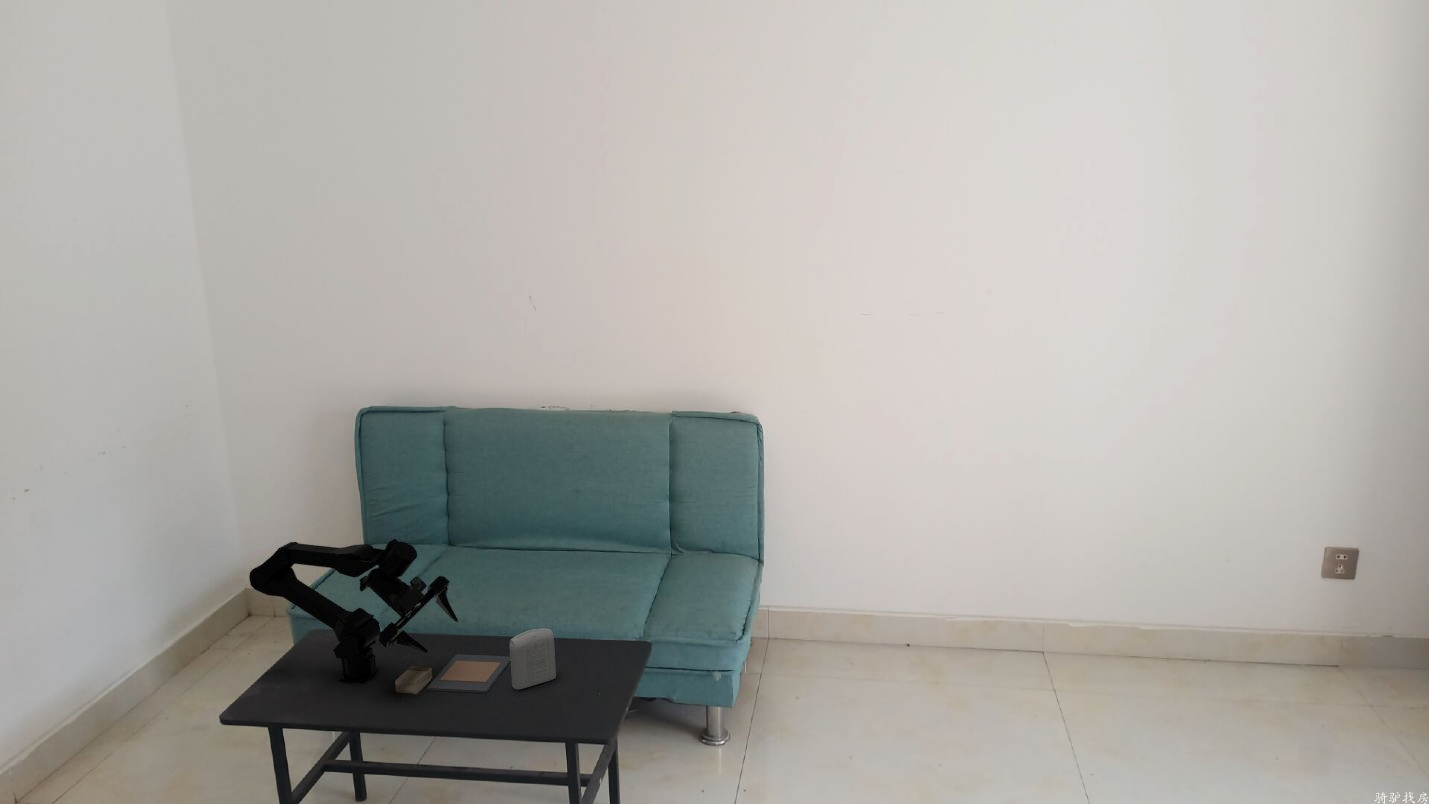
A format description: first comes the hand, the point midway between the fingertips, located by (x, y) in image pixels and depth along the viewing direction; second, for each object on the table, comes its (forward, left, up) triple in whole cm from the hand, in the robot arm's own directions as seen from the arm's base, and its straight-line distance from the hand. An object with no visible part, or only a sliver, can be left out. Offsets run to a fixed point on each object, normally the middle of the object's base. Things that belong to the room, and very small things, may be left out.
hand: (442, 636), depth 209 cm
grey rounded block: (+20, +3, -12) cm, 23 cm away
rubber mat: (+4, +5, -12) cm, 13 cm away
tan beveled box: (-7, -1, -12) cm, 14 cm away
